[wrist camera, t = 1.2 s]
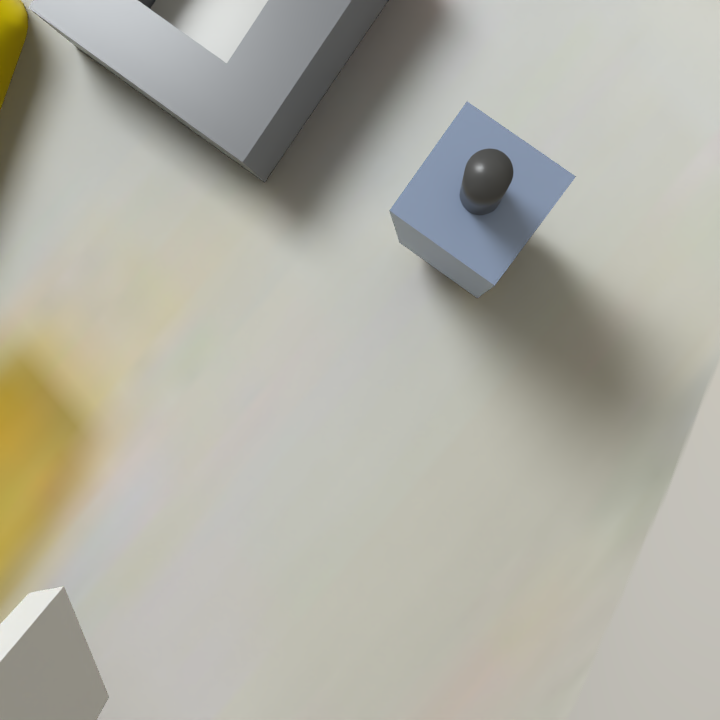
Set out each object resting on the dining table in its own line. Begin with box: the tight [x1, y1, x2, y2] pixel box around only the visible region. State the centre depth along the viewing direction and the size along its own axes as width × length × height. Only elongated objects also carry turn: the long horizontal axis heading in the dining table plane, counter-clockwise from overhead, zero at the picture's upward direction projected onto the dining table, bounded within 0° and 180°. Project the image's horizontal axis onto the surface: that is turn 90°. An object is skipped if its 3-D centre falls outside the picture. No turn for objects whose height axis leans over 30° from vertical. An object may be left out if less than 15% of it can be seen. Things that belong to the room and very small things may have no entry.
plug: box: [390, 102, 576, 298], centre depth 26 cm, size 5×5×13 cm
